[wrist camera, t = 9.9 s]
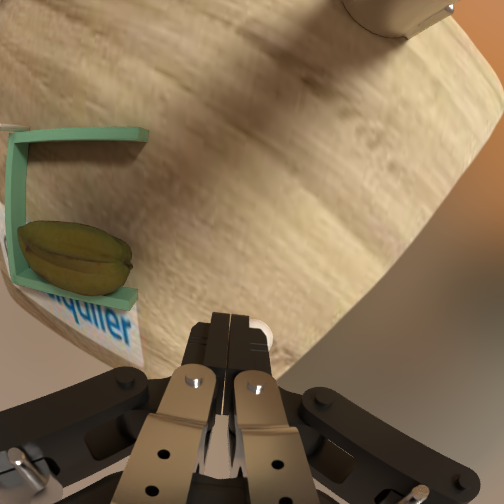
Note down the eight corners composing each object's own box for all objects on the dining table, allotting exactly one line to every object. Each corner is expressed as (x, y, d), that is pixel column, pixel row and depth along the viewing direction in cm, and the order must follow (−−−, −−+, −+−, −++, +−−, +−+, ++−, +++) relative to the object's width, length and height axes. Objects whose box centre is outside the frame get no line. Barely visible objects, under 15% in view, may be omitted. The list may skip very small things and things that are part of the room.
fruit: (83, 304, 31) (58, 330, 25) (35, 223, 28) (1, 236, 21) (150, 262, 30) (130, 286, 24) (96, 168, 27) (63, 171, 20)
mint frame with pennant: (150, 121, 26) (17, 67, 6) (137, 298, 31) (55, 431, 12) (25, 126, 24) (-102, 125, 5) (24, 274, 29) (-76, 348, 10)
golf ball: (273, 313, 32) (278, 334, 28) (267, 345, 33) (270, 368, 29) (234, 309, 32) (234, 330, 28) (230, 341, 33) (229, 364, 29)
